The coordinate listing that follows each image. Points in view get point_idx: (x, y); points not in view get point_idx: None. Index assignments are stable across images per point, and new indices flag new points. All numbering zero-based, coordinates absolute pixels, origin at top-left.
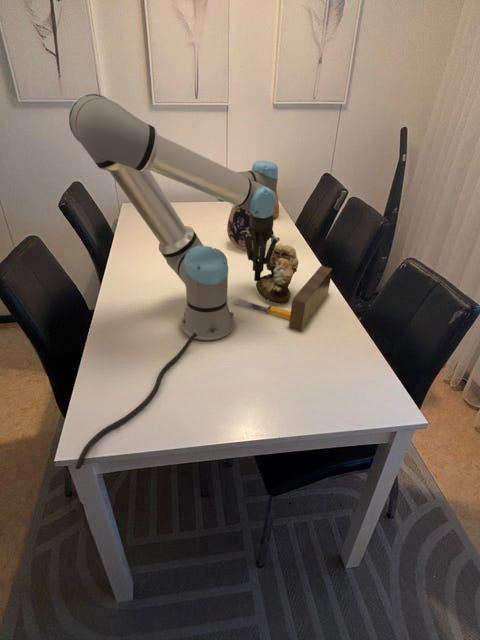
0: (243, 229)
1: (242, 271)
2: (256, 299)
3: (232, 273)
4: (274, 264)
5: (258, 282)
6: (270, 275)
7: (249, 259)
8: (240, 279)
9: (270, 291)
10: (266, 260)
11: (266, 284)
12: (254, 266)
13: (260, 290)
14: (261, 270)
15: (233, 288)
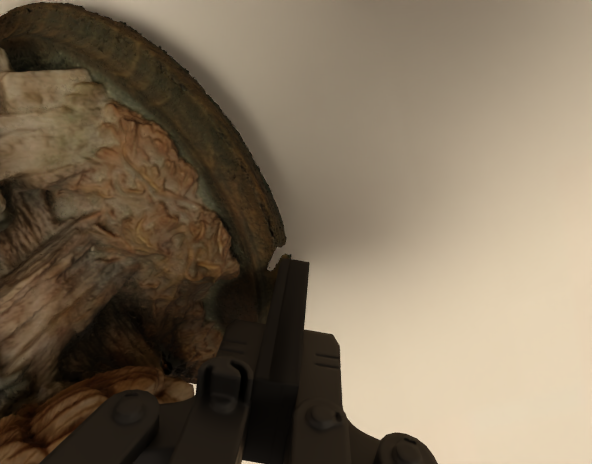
0: None
1: (451, 422)
2: (240, 77)
3: (518, 383)
4: (42, 428)
5: (259, 237)
6: (180, 351)
7: (403, 441)
8: (444, 327)
9: (60, 71)
10: (84, 445)
11: (143, 179)
12: (318, 370)
13: (193, 105)
14: (226, 336)
15: (473, 186)
